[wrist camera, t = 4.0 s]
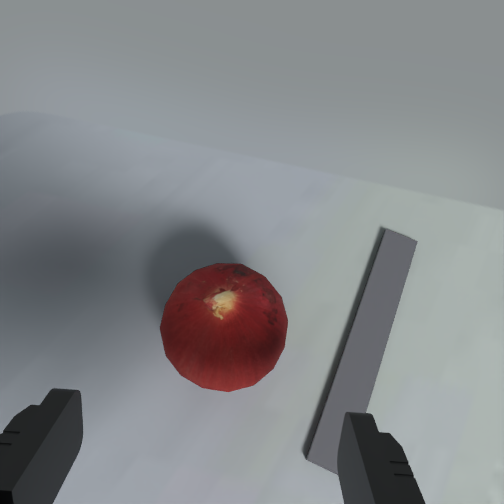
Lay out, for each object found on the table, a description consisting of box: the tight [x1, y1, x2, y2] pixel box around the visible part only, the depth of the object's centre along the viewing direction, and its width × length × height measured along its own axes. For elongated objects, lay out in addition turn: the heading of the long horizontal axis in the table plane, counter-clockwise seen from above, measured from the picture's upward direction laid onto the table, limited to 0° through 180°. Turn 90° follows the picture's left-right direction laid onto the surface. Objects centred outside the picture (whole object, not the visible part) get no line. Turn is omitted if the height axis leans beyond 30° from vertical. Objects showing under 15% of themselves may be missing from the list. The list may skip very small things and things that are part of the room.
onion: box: [160, 263, 288, 392], centre depth 20 cm, size 6×6×8 cm
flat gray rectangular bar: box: [306, 229, 417, 475], centre depth 24 cm, size 2×14×1 cm, turn 156°
